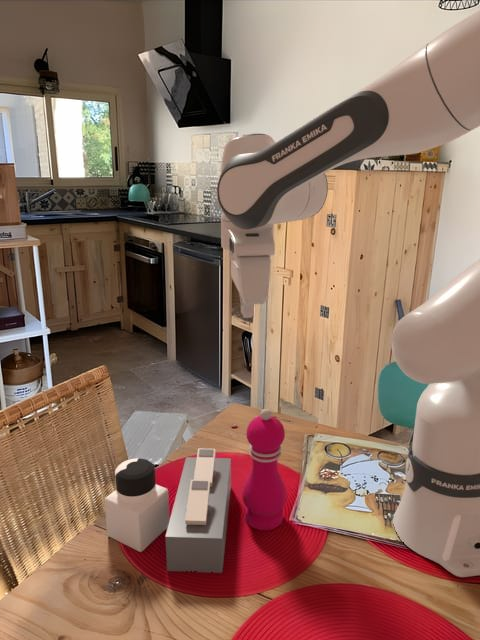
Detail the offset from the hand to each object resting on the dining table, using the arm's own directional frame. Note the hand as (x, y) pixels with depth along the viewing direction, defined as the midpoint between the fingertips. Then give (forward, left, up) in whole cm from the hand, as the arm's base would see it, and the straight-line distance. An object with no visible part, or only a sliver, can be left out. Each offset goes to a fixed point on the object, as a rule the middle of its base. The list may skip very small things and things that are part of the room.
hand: (246, 315), depth 88 cm
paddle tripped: (+6, +12, -23) cm, 27 cm away
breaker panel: (+6, +17, -31) cm, 36 cm away
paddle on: (+6, +21, -23) cm, 32 cm away
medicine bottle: (+16, +19, -31) cm, 40 cm away
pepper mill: (-4, +15, -31) cm, 34 cm away
